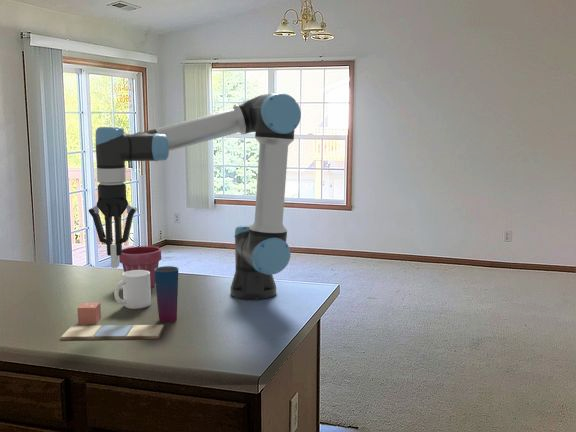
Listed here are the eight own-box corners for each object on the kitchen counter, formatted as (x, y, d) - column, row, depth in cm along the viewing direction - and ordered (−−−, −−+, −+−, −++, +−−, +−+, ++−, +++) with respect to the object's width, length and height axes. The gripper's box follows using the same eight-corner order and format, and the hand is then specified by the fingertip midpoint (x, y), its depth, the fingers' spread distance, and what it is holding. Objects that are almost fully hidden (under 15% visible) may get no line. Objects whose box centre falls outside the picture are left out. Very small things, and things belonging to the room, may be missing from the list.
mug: (122, 314, 182) (121, 280, 180) (107, 308, 188) (106, 275, 186) (156, 305, 191) (155, 272, 189) (141, 299, 196) (139, 268, 195)
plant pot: (127, 280, 220) (126, 245, 218) (166, 280, 220) (165, 245, 218) (115, 291, 206) (113, 254, 204) (156, 291, 205) (155, 254, 203)
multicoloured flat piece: (164, 327, 170) (164, 324, 170) (158, 338, 161) (158, 335, 161) (71, 328, 169) (71, 325, 169) (60, 339, 161) (60, 336, 160)
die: (101, 319, 178) (100, 301, 177) (96, 324, 173) (95, 307, 172) (83, 319, 177) (82, 302, 177) (78, 325, 172) (77, 307, 172)
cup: (156, 324, 173) (155, 272, 170) (155, 317, 179) (153, 267, 177) (181, 322, 174) (179, 270, 172) (178, 315, 181) (177, 265, 179)
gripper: (138, 181, 173) (141, 263, 177) (91, 181, 173) (95, 263, 176) (132, 184, 166) (135, 269, 169) (83, 184, 165) (87, 270, 169)
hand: (115, 266), depth 173 cm, fingers closed
